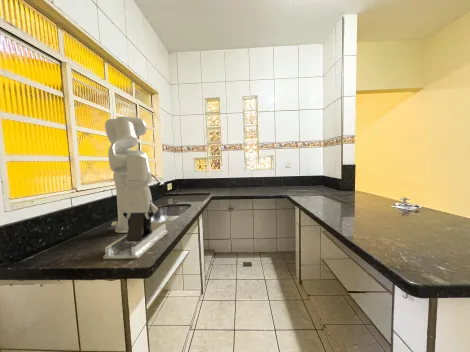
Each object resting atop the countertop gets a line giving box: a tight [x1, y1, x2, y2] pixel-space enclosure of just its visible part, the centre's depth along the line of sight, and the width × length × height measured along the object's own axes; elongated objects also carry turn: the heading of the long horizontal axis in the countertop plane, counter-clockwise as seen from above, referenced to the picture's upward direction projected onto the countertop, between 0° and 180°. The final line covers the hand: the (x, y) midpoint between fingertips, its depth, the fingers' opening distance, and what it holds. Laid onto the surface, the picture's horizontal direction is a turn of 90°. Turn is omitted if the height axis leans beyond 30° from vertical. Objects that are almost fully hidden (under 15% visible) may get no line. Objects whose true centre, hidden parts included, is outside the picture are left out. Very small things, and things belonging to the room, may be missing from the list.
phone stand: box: [126, 213, 153, 242], centre depth 83 cm, size 9×6×12 cm, turn 170°
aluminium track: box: [103, 223, 169, 260], centre depth 83 cm, size 12×28×4 cm, turn 178°
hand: (139, 227), depth 83 cm, fingers closed on phone stand, 6 cm apart
